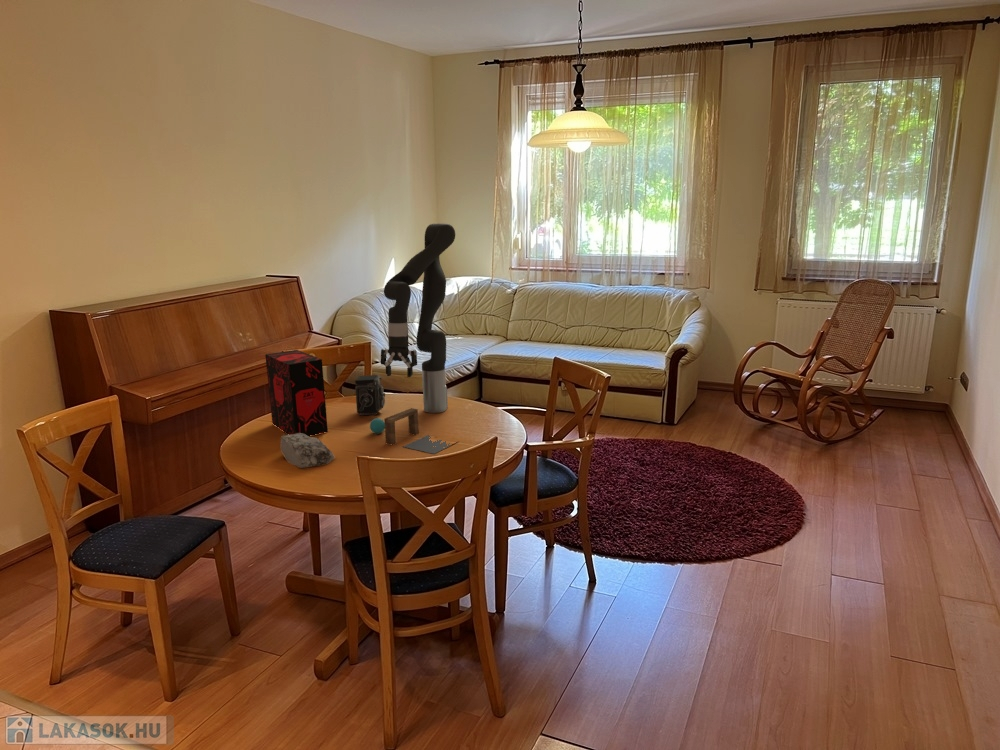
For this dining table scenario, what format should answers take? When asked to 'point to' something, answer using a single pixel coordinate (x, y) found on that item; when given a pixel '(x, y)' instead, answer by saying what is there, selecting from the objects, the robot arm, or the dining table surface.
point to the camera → (369, 395)
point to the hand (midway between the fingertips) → (399, 376)
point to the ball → (377, 425)
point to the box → (297, 392)
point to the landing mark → (427, 445)
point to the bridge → (390, 421)
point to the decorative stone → (305, 450)
